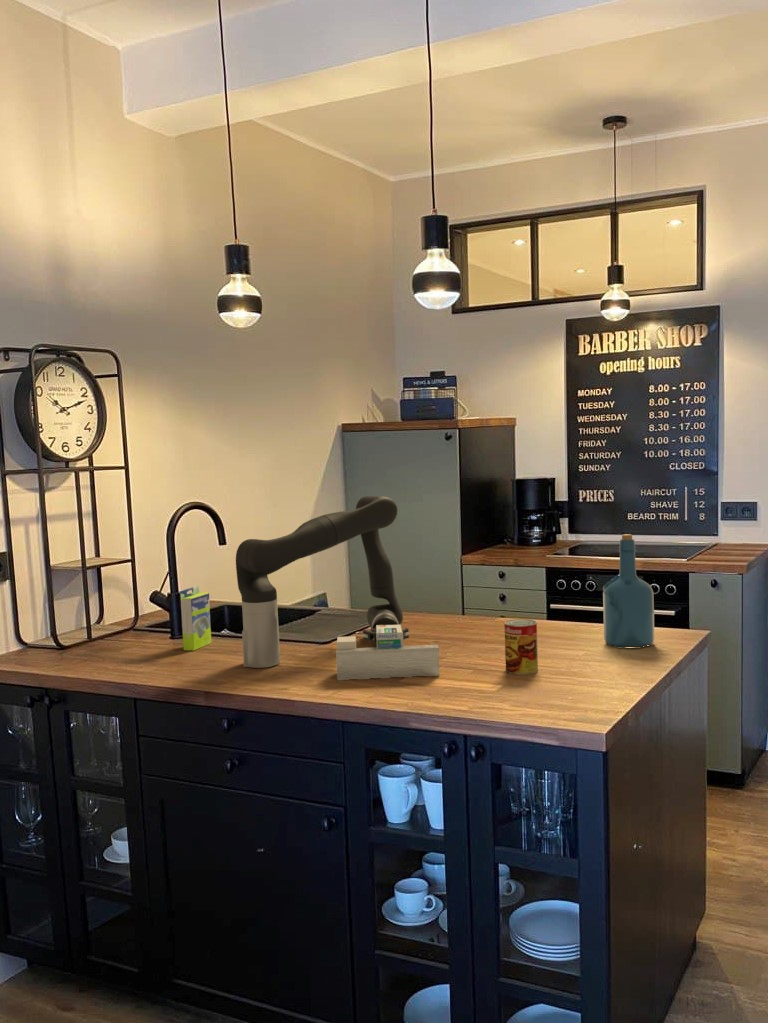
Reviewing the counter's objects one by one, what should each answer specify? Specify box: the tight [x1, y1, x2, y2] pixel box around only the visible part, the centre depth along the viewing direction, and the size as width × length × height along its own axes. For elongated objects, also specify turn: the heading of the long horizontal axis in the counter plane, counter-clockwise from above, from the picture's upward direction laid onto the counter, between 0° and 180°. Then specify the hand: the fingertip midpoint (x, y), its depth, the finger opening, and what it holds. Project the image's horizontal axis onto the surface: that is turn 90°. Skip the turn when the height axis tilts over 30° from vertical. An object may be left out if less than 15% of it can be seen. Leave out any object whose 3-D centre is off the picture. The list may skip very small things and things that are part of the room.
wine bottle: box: [602, 533, 655, 648], centre depth 246 cm, size 14×13×30 cm
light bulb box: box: [376, 624, 405, 647], centre depth 228 cm, size 11×7×11 cm, turn 1°
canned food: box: [504, 618, 539, 675], centre depth 223 cm, size 8×8×12 cm
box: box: [179, 585, 212, 651], centre depth 265 cm, size 10×4×17 cm, turn 161°
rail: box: [335, 644, 440, 681], centre depth 224 cm, size 25×9×7 cm, turn 91°
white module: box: [336, 635, 357, 649], centre depth 226 cm, size 5×6×9 cm
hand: (386, 641), depth 235 cm, fingers closed
